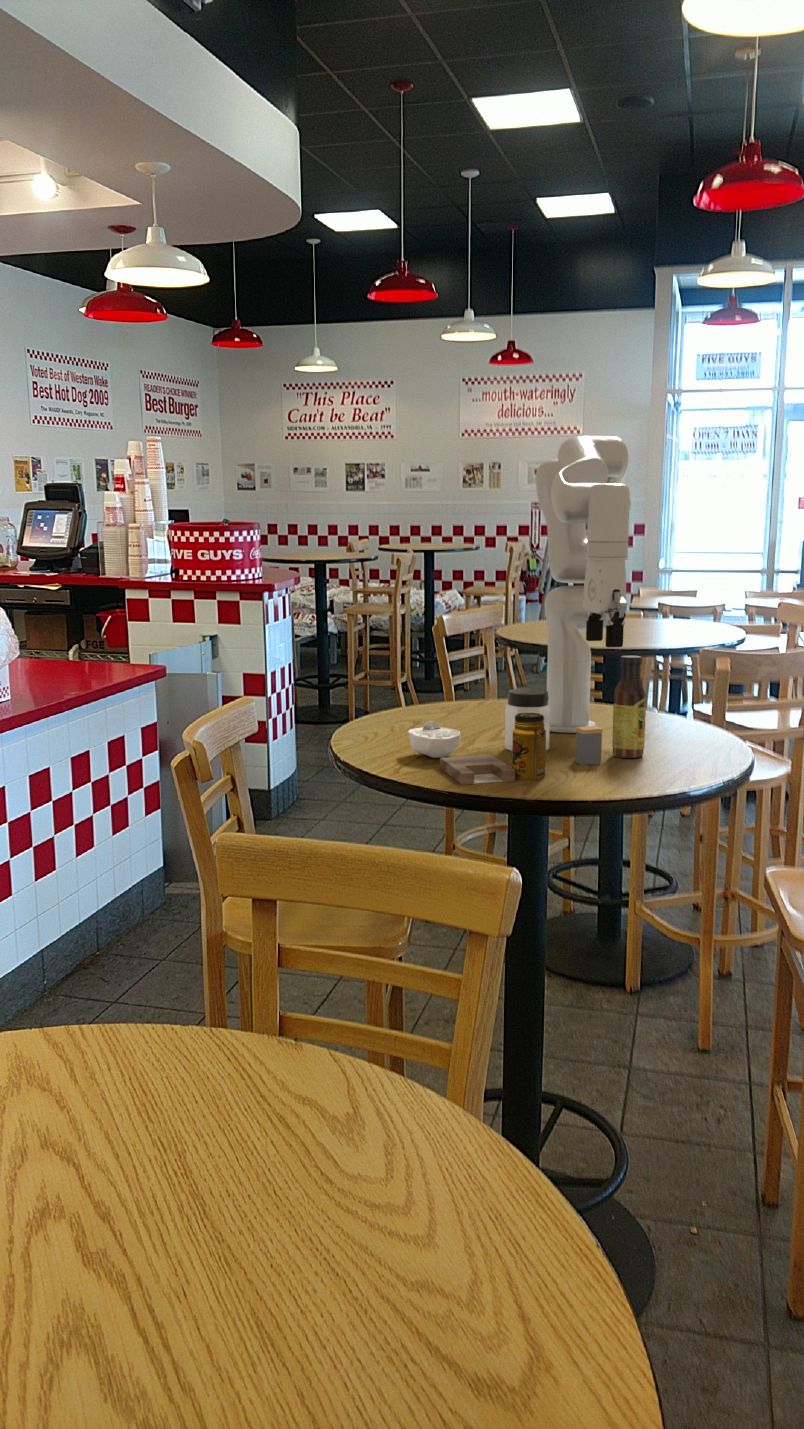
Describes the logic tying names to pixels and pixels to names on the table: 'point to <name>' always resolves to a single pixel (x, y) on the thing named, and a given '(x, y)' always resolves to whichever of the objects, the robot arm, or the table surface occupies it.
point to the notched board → (477, 769)
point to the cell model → (434, 740)
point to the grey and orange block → (588, 745)
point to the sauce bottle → (629, 710)
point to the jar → (525, 710)
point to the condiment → (529, 747)
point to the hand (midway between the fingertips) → (603, 643)
